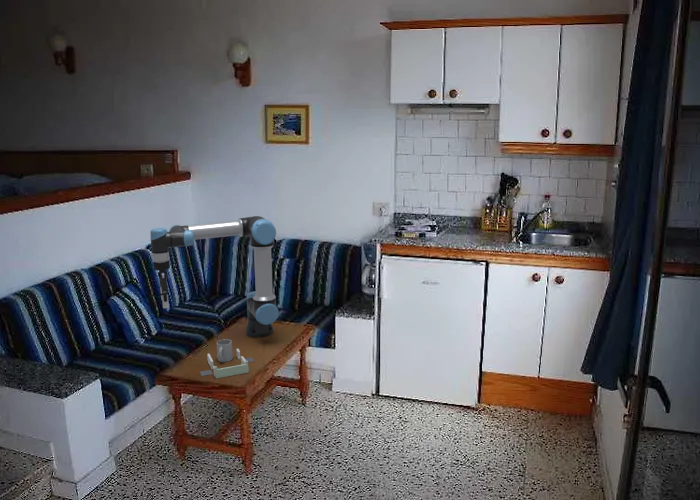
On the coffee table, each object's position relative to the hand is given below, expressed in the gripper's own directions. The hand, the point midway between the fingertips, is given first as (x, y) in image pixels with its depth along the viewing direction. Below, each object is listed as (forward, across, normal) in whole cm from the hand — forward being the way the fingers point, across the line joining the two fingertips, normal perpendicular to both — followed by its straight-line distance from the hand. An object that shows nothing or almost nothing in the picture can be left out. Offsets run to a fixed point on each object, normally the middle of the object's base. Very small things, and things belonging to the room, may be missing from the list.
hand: (165, 303), depth 283 cm
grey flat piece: (+28, +22, +24) cm, 43 cm away
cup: (+28, +14, +24) cm, 40 cm away
